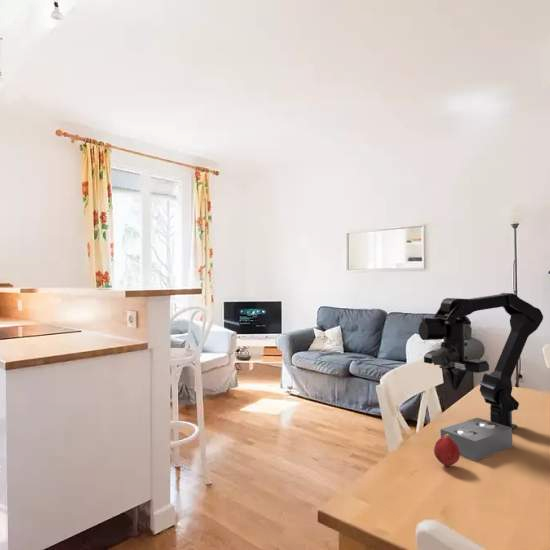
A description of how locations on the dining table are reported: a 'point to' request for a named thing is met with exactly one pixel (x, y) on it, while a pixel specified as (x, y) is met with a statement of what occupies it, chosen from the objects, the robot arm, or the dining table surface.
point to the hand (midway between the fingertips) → (455, 390)
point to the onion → (446, 451)
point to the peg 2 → (487, 425)
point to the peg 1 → (465, 432)
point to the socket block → (479, 438)
